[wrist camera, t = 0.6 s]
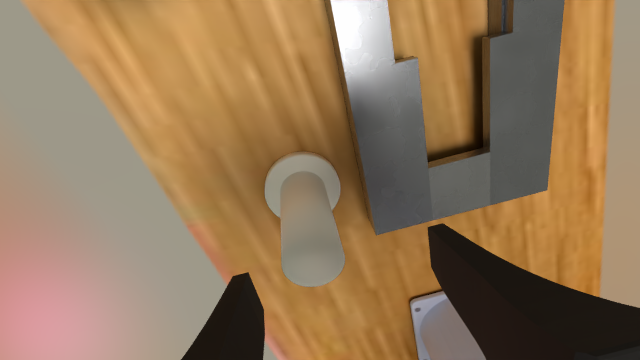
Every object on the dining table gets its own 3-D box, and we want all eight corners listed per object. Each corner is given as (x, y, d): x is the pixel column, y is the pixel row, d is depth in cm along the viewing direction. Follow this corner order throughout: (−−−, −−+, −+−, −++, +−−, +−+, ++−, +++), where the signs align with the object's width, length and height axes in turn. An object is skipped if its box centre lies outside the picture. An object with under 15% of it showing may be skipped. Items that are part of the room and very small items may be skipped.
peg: (344, 206, 24) (373, 287, 17) (277, 224, 24) (277, 312, 17) (329, 142, 22) (355, 205, 15) (255, 162, 22) (244, 234, 15)
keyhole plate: (526, 176, 25) (547, 190, 23) (368, 218, 25) (375, 235, 23) (548, -196, 16) (584, -224, 14) (298, -130, 16) (301, -149, 14)
